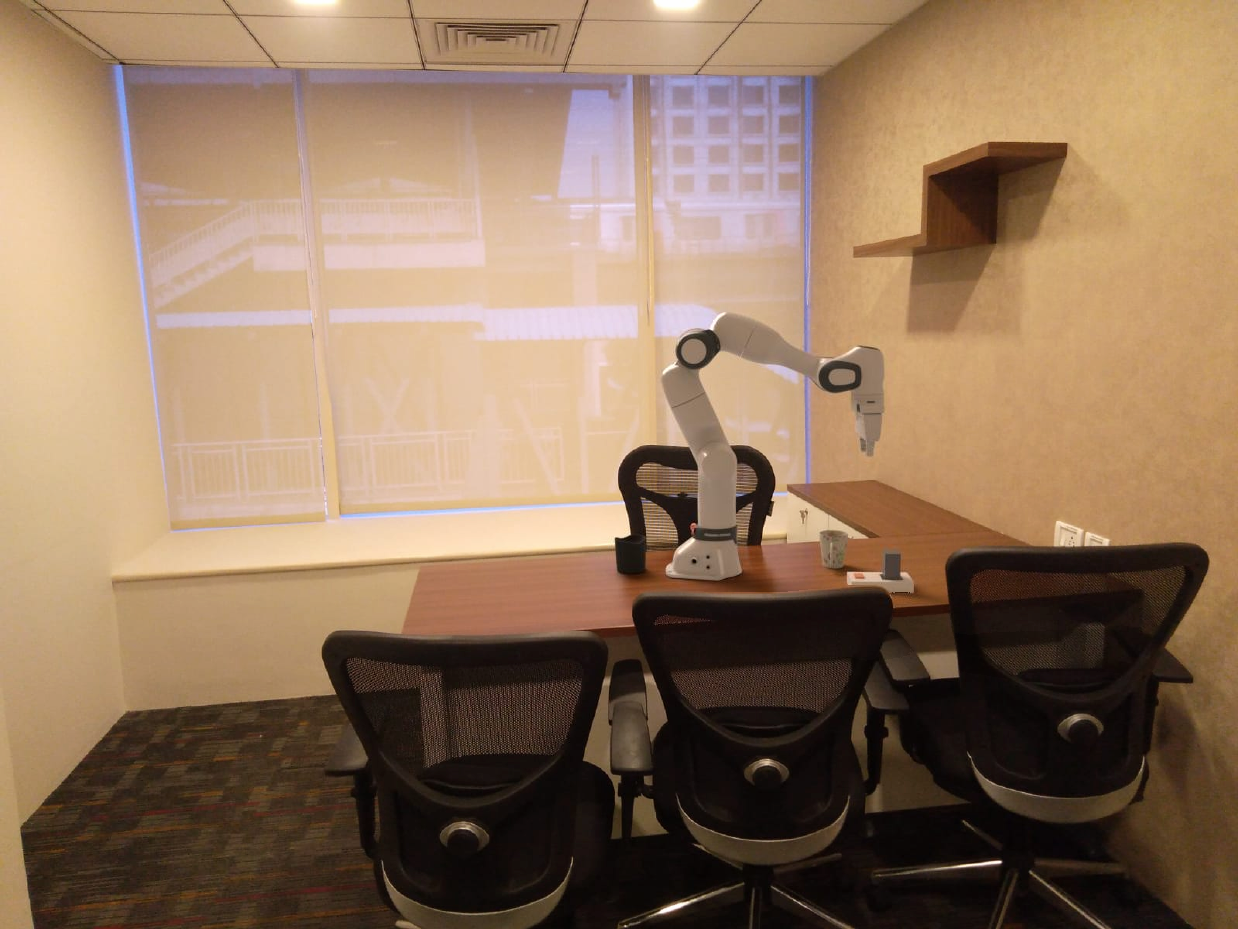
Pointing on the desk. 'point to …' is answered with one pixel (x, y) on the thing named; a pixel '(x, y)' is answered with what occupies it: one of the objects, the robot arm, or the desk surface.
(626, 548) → the pen holder
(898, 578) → the plug
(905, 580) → the power strip
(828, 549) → the mug
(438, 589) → the desk surface
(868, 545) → the desk surface
